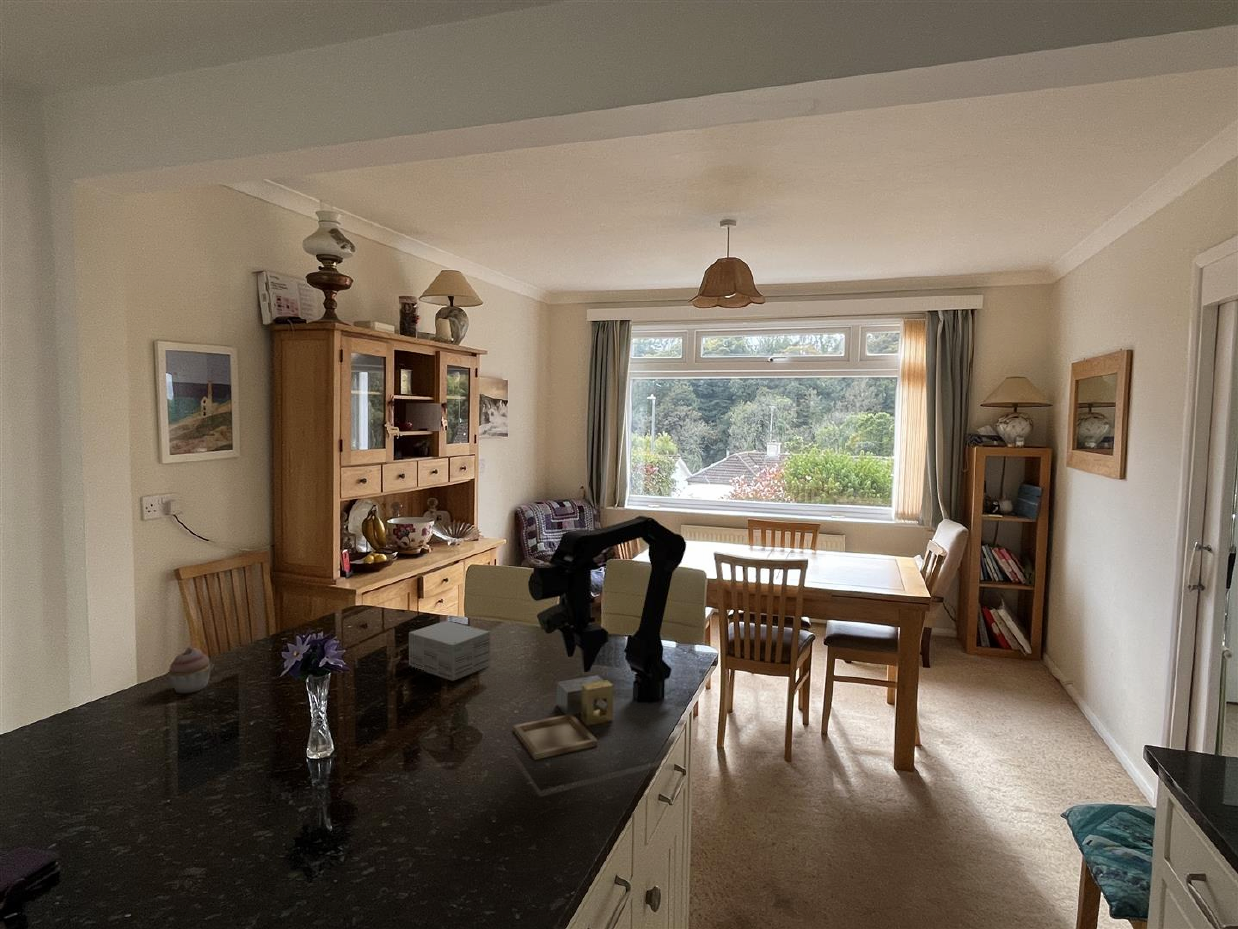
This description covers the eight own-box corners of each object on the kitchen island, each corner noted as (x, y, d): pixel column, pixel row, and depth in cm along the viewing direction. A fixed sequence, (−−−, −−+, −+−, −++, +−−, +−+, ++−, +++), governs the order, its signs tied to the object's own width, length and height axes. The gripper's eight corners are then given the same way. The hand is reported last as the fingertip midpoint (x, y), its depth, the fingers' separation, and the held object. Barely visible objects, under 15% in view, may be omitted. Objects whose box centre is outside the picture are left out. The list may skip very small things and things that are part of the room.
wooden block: (606, 714, 144) (607, 680, 144) (612, 720, 142) (613, 685, 141) (581, 719, 142) (581, 684, 141) (586, 725, 139) (587, 690, 138)
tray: (571, 721, 142) (571, 713, 142) (597, 749, 131) (597, 740, 131) (513, 733, 136) (513, 725, 136) (534, 763, 125) (534, 754, 125)
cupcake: (157, 692, 153) (156, 650, 152) (196, 678, 162) (195, 638, 161) (185, 699, 149) (183, 656, 149) (223, 684, 158) (222, 643, 157)
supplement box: (491, 666, 173) (491, 631, 173) (453, 682, 163) (453, 645, 162) (447, 652, 183) (447, 619, 182) (408, 666, 172) (407, 631, 171)
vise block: (598, 699, 154) (598, 674, 154) (627, 725, 141) (627, 698, 141) (553, 707, 149) (554, 681, 149) (579, 736, 136) (580, 707, 136)
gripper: (527, 585, 144) (528, 655, 146) (556, 609, 128) (557, 687, 129) (574, 579, 149) (575, 647, 151) (609, 601, 132) (609, 677, 134)
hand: (578, 664), depth 141 cm, fingers open, 9 cm apart
